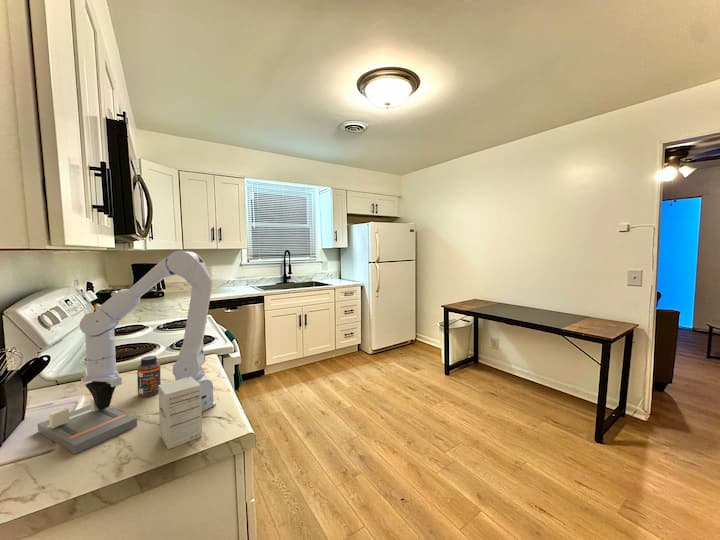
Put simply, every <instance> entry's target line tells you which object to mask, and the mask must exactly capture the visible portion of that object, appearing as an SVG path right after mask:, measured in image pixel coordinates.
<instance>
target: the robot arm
mask: <svg viewBox="0 0 720 540" xmlns="http://www.w3.org/2000/svg"><path fill="white" fill-rule="evenodd" d="M176 275H177V276H179V277H181V278H182V279H184V280H185V281H186V282H187V283H188V284H189V285H190V286H191V288H192V289H191V293H190V299H189V305H188V312H187V316H186V324H185V329H184V335H183V341H182V342H183V343H182V345H181V347H180V349H179V353H178V358H177V360H176V361H175V362H174V364H173V365H172V375H173V377H174V381H175V380H179V379H183V378H186V377H192V378H194V379H195V380H196V381H197V382H198V383H199V384H200V385H201V406H202V412H204V411H206V410H208V409H210V408H212V407H214V406H216V405H217V402H215V401H214V385H213V382H212V381H211V380H210V379H209V378H207V377H206V374H205V373H206V372H205V370H204V368H203V367H202V366H203V365H204V364H205V362H206V355H205V352H204V347H205V345H204V337H205V331H206V325H207V319H208V312H209V307H210V301H211V294H212V288H213V285H214V284H213V279H212V276H211V274H210V272H209V270H208V268H207V265H206V263H205V260H204V259H203V258H201V256H200V255H199V254H197V253H196V252H193V251H189V250H186V251H185V250H177V251H173V252H172V253H171V254H169V255H168V257H165V258H163V259H161V260H160V261H159V262H158V263H157V264H156V265H154V267H152V268H151V269H150V270H149V271H148V272H147V273H146V274H145V275H143V276H142V277H141V278H140V279H139V280H138V281H137V282H136V283H134V284H133V285H132V286H131V287H130V288H122V289H120V290H114V291H113V292H112V293H111V294H110V296H111V297H110V298H108V299H107V300H106V301H105V302H103V303H102V304H98V305H97V306H96V307H95V309H96V310H95V311H94V312H93V311H92V312H88V313H85V315H84V316H83V317H82V318H81V320H80V322H79V329H80V330H81V332H82V333H83V334H84V336H85V337H84V338H85V354H86V355H85V356H86V358H85V359H86V369H84V370H83V377H81V378H80V379H81V382H82V383H86V384H84V385H85V388H86V389H87V390H89V393H90V394H91V395H92V398H94V401H95V404H96V407H97V409H99V410H102V409H105V408H107V407H111V406H110V404H111V402H112V398H113V395H114V391H115V389H116V387H118V386H120V385H122V384H123V383H122V380H123V379H122V376H120V375H119V372H118V370H117V362H116V361H117V359H116V355H117V354H116V336H115V328H116V327H117V326H118V324H119V322H120V321H122V320H123V319H124V318H126V316H127V315H129V314H130V313H131V312H133V310H135V308H137V307H138V306H139V305H140V304H141V298H142V296H144V295H145V294H146V293H148V291H150V290H151V289H152V288H154V287H155V286H156V285H158V284H159V283H160V282H161V281H163V280H164V279H165V278H168V277H172V276H176ZM87 382H88V383H87Z"/></svg>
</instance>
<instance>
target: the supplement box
mask: <svg viewBox="0 0 720 540" xmlns="http://www.w3.org/2000/svg"><path fill="white" fill-rule="evenodd" d="M158 387H159V393H158V409H159V410H158V411H159V415H158V416H159V434H160V435H159V436H160V438H161V439H162V440H163V442H164V444H165V446H166V449H167V450H171V449H173V448H176V447H178V446H181V445H183V444H186V443H189V442H191V441H194V440H196V439H199V438H202V437H203V417H202V416H203V415H202V413H203V411H202V406H201V385H200V384H199V383H198V382H197V381H196V380H195V379H194V378H192V377H186V378H183V379H179V380H175V379H174V380H172V381H168V382H164V383H161V384H160V385H158ZM198 437H199V438H198ZM195 438H196V439H195ZM193 439H194V440H193ZM190 440H191V441H190ZM188 441H189V442H188Z"/></svg>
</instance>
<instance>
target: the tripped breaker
mask: <svg viewBox="0 0 720 540" xmlns="http://www.w3.org/2000/svg"><path fill="white" fill-rule="evenodd" d="M90 405H91V411H97V410H99V409H97V407H96V404H95V401H94V398H93V397H90Z"/></svg>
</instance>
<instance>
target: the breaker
mask: <svg viewBox="0 0 720 540" xmlns="http://www.w3.org/2000/svg"><path fill="white" fill-rule="evenodd" d="M69 412H70V408H68V407H63V408H61V409H58V410H54V411H51V412H49V413H48V417H49V418H48V420H49V421H50V427H52V428H54V427H57V426H60V425H62V424H65V423H68V422H70V420H69Z"/></svg>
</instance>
